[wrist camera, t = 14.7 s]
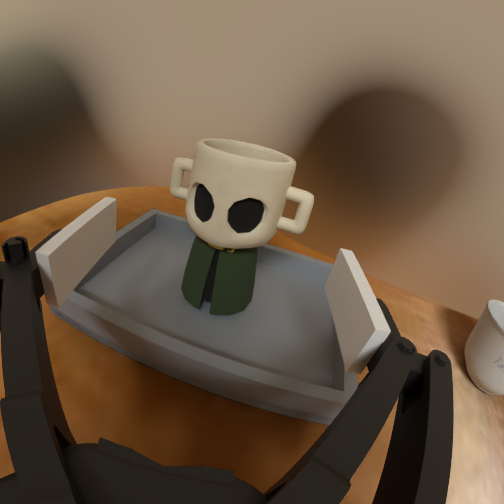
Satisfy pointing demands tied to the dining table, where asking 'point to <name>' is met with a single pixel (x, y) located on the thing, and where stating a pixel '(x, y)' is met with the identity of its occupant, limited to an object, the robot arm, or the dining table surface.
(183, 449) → the dining table surface
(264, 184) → the character mug
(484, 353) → the teacup
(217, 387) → the tray
